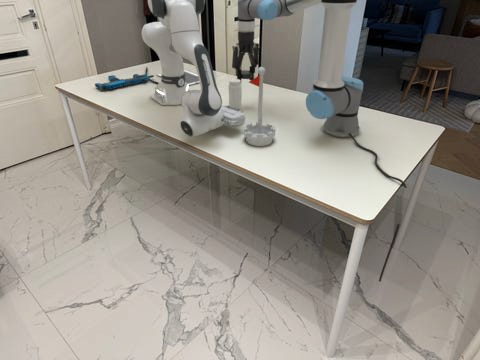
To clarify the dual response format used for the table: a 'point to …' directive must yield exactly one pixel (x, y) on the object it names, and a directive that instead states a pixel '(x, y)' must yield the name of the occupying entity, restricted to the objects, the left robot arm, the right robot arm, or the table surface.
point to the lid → (246, 74)
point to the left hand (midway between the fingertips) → (236, 108)
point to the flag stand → (259, 119)
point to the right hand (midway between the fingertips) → (245, 81)
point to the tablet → (189, 78)
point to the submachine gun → (122, 81)
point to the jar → (235, 95)
